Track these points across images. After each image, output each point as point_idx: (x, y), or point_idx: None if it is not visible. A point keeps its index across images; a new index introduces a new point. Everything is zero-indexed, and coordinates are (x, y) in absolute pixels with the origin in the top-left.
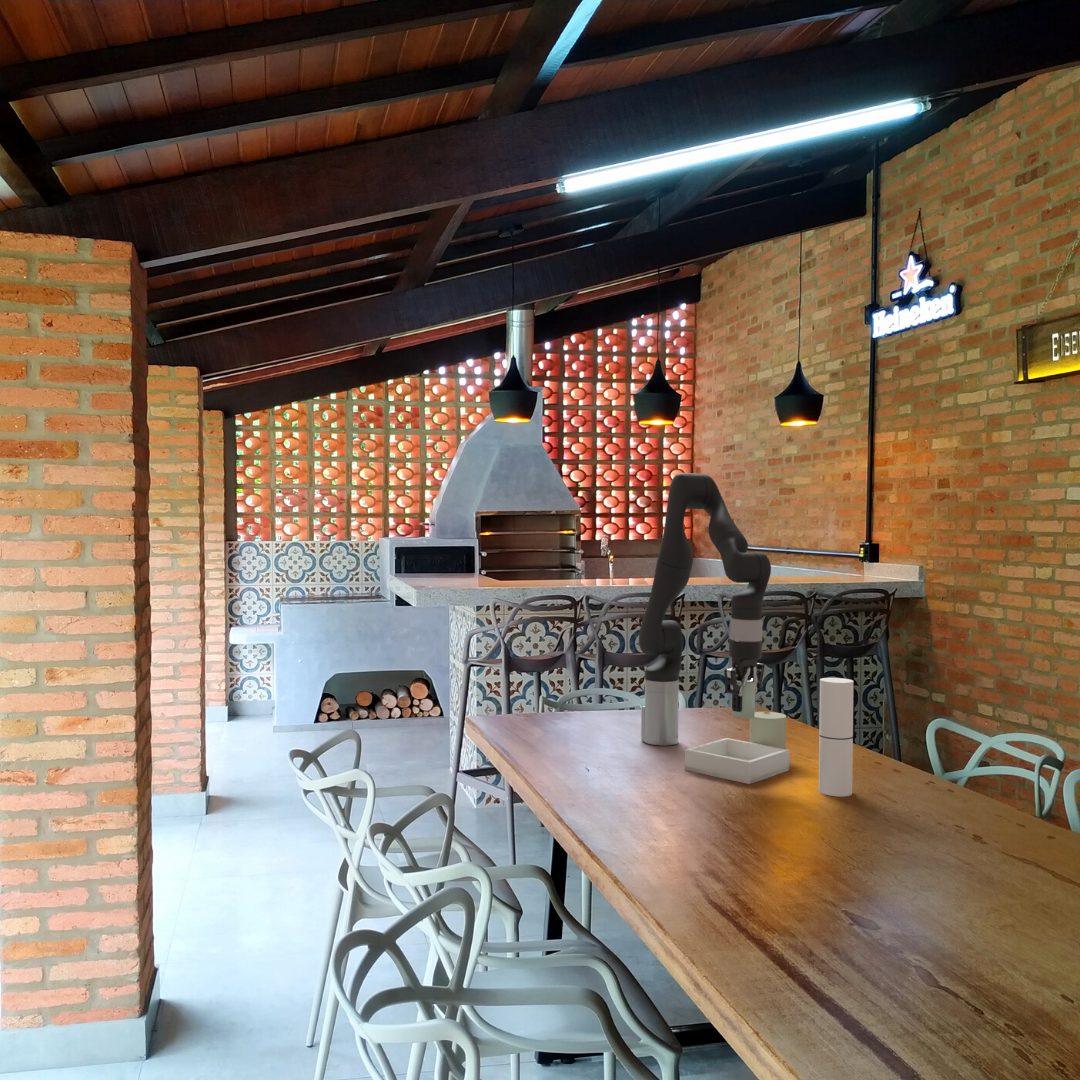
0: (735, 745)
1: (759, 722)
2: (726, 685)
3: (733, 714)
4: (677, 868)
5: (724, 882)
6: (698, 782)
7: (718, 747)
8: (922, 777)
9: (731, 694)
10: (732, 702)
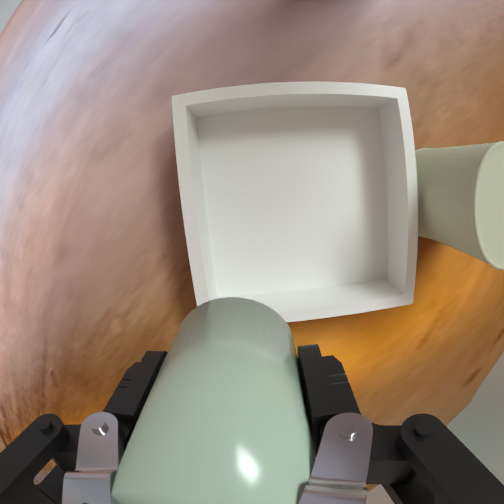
0: (394, 129)
1: (463, 209)
2: (13, 450)
3: (180, 325)
4: None
5: (6, 419)
6: (126, 216)
7: (345, 99)
8: (451, 411)
9: (98, 414)
10: (118, 388)
